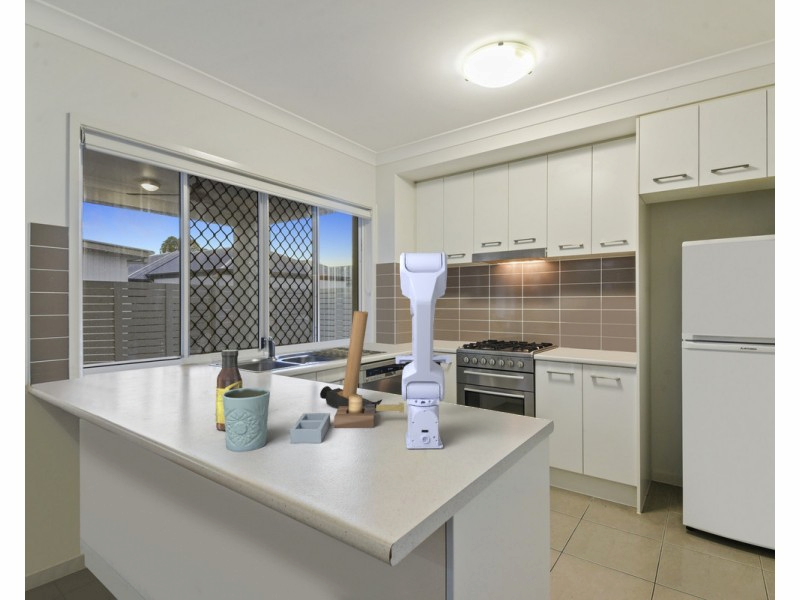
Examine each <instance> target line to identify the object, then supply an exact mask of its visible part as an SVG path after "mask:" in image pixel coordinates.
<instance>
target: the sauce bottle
mask: <svg viewBox="0 0 800 600" xmlns="http://www.w3.org/2000/svg"><path fill="white" fill-rule="evenodd" d="M220 354H221V369H220V371H219V372H218V375H217V376H216V386H215V387H216V389H215V390H216V391H215V423H216V424H215V428H216V430H218V431H226V430H225V416H224V409H223V396H222V395H223V394H224V393H225V392H227V391H230V390H234V389H240V388H243V378H242V375H241V373H240V369H239V365H238V360H239V359H238V356H239V349H223V350H221V353H220Z"/></svg>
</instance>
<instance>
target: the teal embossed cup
mask: <svg viewBox="0 0 800 600" xmlns="http://www.w3.org/2000/svg"><path fill="white" fill-rule="evenodd" d="M222 396H223V409H224V416H225V430H224V431H225V436H224V437H225V438H224V441H225V449H227V450H228V451H230V452H234V453H236V452H237V453H238V452H239V453H240V452H241V453H242V452H244V453H245V452H251V451H255V450H258V449H261V448H263V447H265V445H266V444H267V438H268V437H267V436H268V435H267V433H268V432H267V430H268V419H269V417H268V416H269V406H270V396H271V390H270V389H268V388H264V387H242V388H240V389H234V390H230V391H227V392H225V393H224V394H223V395H222Z"/></svg>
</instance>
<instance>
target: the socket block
mask: <svg viewBox="0 0 800 600" xmlns="http://www.w3.org/2000/svg"><path fill="white" fill-rule="evenodd" d="M375 420H376V409H375V404H366V406H362V413H349V406H339V408H337V410H336V412H335V414H334V416H333V422H334V423H333V428H334V429H374V426H375Z"/></svg>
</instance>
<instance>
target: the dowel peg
mask: <svg viewBox="0 0 800 600" xmlns="http://www.w3.org/2000/svg"><path fill="white" fill-rule="evenodd" d="M362 398H363V395H362V394H358V395H350V396H349V413H362Z"/></svg>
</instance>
